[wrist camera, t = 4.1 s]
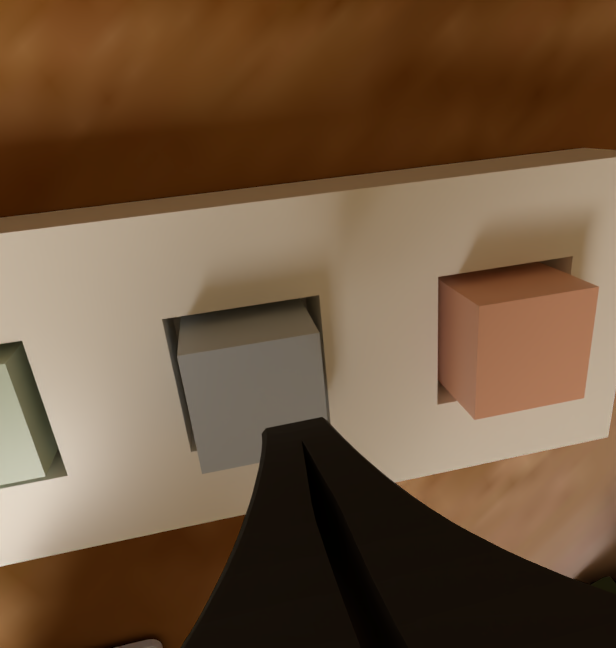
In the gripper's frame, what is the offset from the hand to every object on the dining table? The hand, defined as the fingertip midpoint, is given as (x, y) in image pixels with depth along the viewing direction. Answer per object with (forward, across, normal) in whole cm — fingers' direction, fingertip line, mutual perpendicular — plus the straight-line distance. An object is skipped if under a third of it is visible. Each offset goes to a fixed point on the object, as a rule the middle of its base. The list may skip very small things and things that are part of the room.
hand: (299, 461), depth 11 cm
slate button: (+6, +1, 0) cm, 6 cm away
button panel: (+8, +1, 0) cm, 8 cm away
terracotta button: (+6, -7, 0) cm, 9 cm away
